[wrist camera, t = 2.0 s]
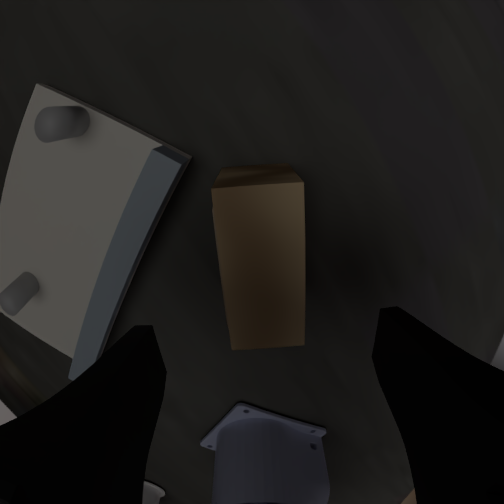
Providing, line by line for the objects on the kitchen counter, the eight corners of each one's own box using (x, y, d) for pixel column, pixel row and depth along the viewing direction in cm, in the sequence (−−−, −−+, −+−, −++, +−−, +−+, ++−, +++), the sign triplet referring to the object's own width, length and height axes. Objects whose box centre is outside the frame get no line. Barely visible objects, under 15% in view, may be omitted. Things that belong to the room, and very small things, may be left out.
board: (192, 156, 17) (176, 167, 13) (98, 362, 23) (82, 397, 19) (45, 84, 15) (6, 82, 11) (-5, 297, 21) (-30, 322, 17)
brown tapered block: (287, 162, 17) (303, 182, 12) (291, 289, 21) (304, 345, 16) (219, 167, 17) (207, 189, 12) (232, 294, 21) (228, 350, 16)
